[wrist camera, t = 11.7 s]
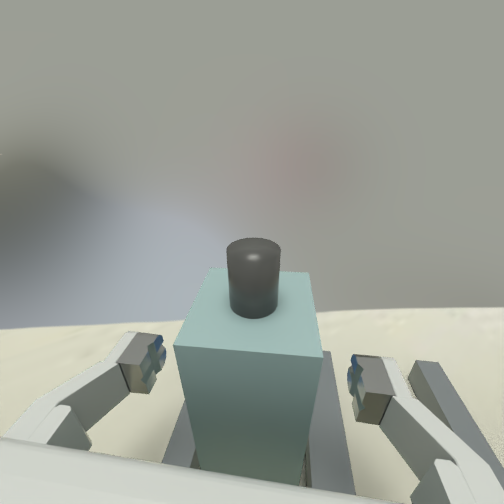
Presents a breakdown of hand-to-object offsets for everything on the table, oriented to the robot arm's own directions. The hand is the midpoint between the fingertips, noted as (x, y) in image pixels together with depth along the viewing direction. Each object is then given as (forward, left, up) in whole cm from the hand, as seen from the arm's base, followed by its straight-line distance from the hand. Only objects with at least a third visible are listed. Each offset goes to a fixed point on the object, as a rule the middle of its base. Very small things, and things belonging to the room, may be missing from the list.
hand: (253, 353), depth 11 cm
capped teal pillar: (0, +1, -8) cm, 9 cm away
